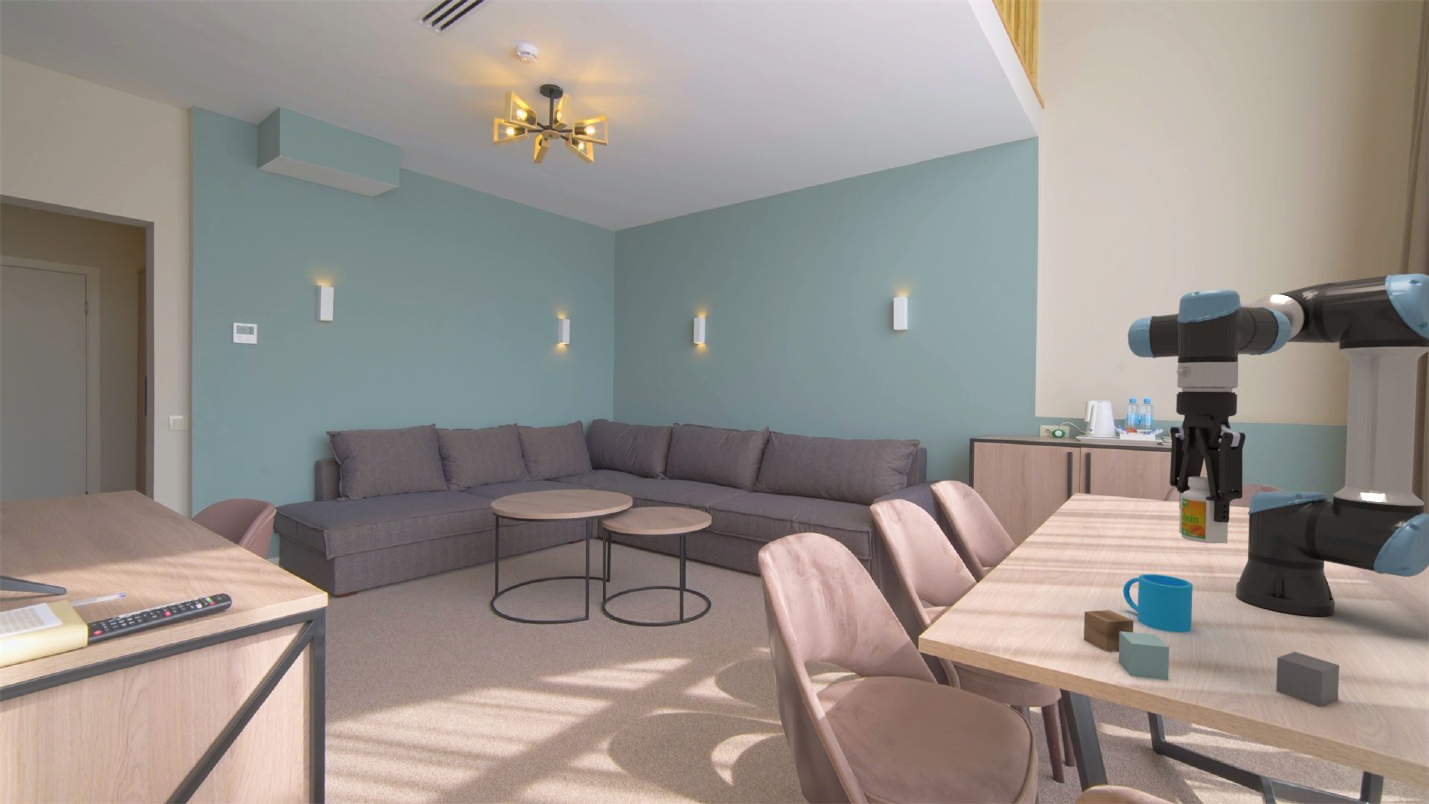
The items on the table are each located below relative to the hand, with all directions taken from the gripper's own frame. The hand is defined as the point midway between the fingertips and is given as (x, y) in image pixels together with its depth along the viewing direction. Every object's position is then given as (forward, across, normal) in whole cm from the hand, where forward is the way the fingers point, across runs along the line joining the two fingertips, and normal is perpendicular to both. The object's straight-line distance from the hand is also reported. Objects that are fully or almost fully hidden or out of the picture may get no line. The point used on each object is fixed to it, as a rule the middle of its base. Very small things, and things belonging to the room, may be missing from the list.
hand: (1202, 537), depth 101 cm
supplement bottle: (+1, 0, 0) cm, 1 cm away
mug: (+21, -20, +5) cm, 29 cm away
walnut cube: (+20, -7, -10) cm, 24 cm away
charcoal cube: (+20, +9, +9) cm, 24 cm away
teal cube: (+20, +3, -10) cm, 23 cm away
